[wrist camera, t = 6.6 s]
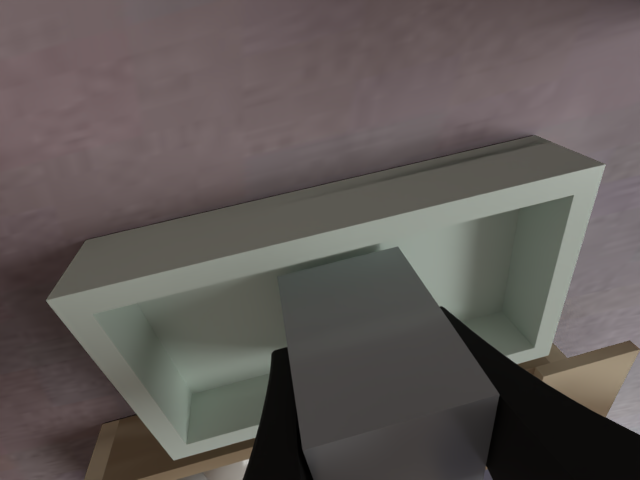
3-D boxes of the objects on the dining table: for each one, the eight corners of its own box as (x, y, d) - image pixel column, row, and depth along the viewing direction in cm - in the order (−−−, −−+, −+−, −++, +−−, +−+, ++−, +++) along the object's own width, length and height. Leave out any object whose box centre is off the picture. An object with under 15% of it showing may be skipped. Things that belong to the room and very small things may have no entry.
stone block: (402, 330, 15) (482, 484, 10) (300, 357, 15) (332, 530, 10) (397, 246, 13) (499, 394, 8) (277, 276, 13) (302, 450, 8)
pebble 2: (268, 428, 19) (272, 489, 17) (213, 444, 19) (209, 508, 17) (253, 396, 18) (256, 459, 15) (193, 413, 18) (185, 479, 15)
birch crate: (545, 394, 23) (589, 449, 20) (174, 502, 22) (163, 578, 19) (576, 296, 18) (640, 349, 16) (102, 424, 17) (73, 510, 14)
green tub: (505, 307, 18) (548, 355, 15) (183, 393, 17) (173, 460, 14) (535, 135, 13) (605, 164, 11) (85, 240, 12) (45, 300, 9)
